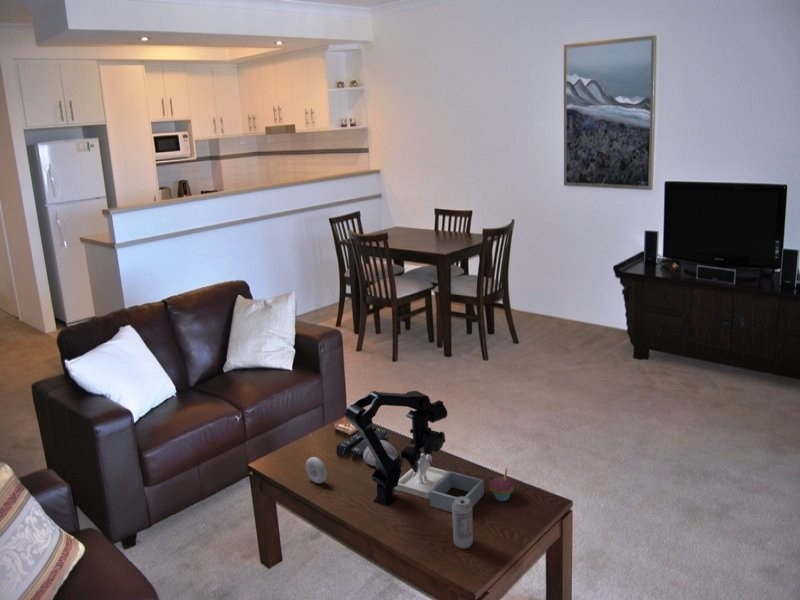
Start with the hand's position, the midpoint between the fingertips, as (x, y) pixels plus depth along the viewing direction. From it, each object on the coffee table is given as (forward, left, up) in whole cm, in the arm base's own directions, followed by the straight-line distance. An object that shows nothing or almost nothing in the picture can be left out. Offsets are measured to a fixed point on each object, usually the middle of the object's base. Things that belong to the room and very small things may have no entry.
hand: (422, 466), depth 244 cm
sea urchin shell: (+7, +23, -7) cm, 25 cm away
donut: (-17, +35, -7) cm, 40 cm away
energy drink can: (-25, -29, -7) cm, 39 cm away
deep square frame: (-4, -16, -7) cm, 18 cm away
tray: (0, 0, -7) cm, 7 cm away
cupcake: (+4, -29, -7) cm, 30 cm away
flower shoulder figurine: (0, 0, -6) cm, 6 cm away
